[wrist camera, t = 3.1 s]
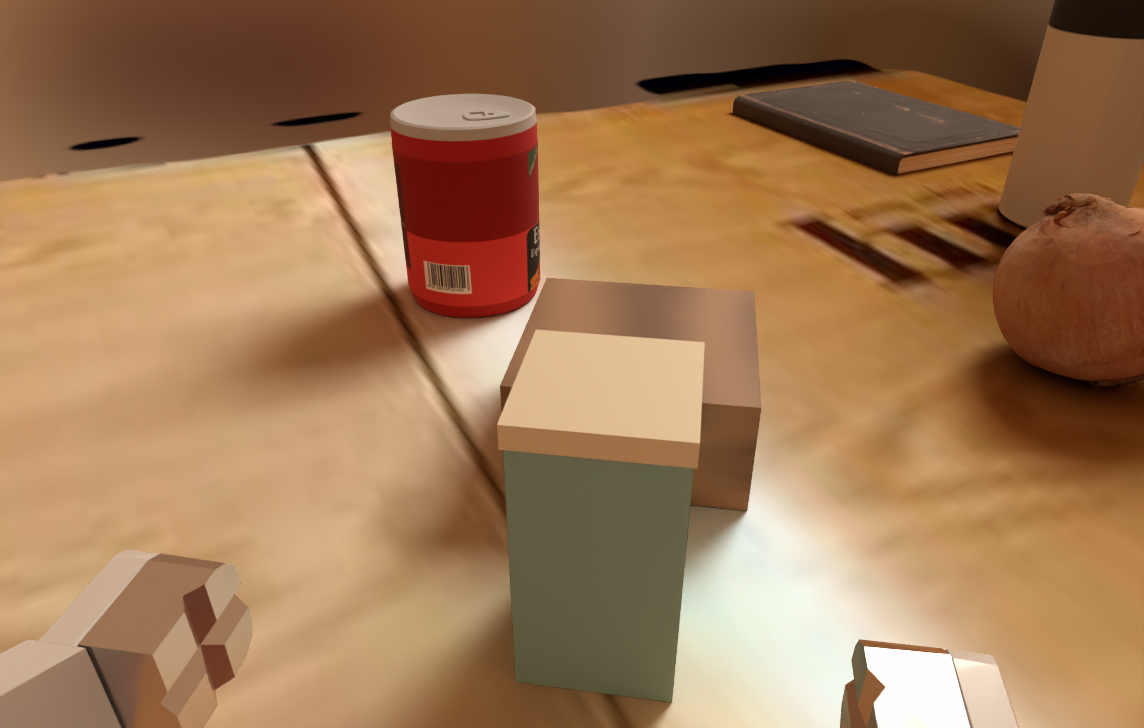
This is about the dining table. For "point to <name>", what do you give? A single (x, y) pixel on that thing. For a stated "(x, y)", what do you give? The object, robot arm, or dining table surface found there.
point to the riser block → (687, 318)
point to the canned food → (468, 202)
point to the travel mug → (1081, 110)
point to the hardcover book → (878, 125)
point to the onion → (1077, 291)
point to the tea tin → (600, 508)
